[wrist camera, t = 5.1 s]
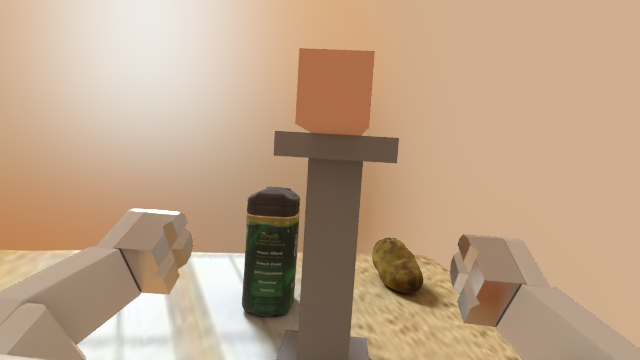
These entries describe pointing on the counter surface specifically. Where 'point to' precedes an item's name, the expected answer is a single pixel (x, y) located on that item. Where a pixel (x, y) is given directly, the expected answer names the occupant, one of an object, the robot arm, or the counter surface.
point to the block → (334, 91)
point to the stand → (330, 240)
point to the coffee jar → (271, 251)
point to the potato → (397, 266)
